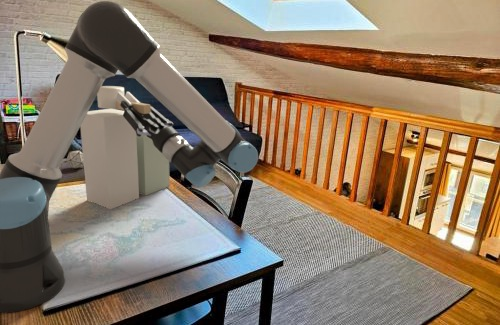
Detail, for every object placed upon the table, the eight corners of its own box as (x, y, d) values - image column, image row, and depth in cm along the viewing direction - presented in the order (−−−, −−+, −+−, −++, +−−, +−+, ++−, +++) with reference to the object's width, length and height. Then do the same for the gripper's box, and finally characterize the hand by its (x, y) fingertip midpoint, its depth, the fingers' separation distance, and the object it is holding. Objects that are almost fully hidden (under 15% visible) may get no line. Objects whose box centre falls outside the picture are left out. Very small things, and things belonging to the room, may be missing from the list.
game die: (82, 177, 153) (88, 162, 148) (60, 171, 150) (65, 156, 144) (86, 161, 159) (92, 147, 154) (65, 156, 156) (70, 141, 150)
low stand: (169, 186, 139) (168, 119, 131) (145, 195, 129) (143, 123, 121) (147, 179, 144) (145, 115, 137) (123, 187, 135) (119, 118, 127)
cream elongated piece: (157, 112, 109) (157, 92, 108) (136, 114, 103) (135, 93, 101) (113, 104, 119) (112, 85, 117) (92, 106, 113) (91, 86, 111)
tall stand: (139, 198, 126) (135, 113, 117) (110, 209, 116) (103, 117, 108) (116, 190, 132) (111, 108, 123) (87, 200, 122) (79, 112, 114)
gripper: (194, 130, 108) (145, 84, 115) (155, 139, 95) (103, 86, 102) (184, 149, 112) (138, 103, 118) (146, 159, 99) (96, 107, 106)
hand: (122, 95), depth 110 cm, fingers closed on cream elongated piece, 2 cm apart
